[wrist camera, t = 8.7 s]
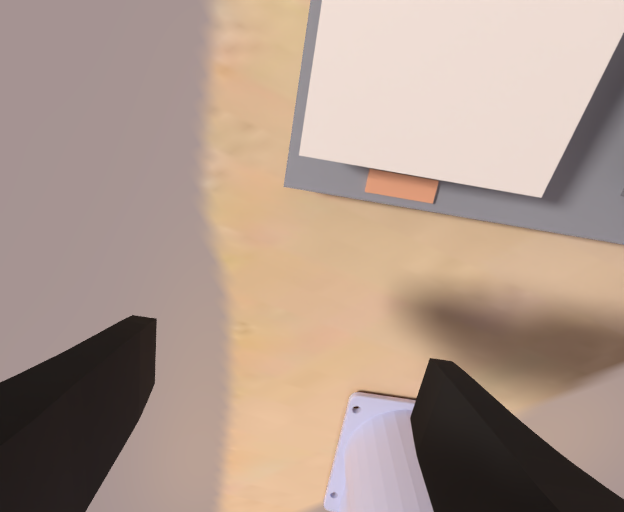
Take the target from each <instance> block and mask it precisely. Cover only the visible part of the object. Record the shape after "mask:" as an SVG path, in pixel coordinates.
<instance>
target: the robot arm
mask: <svg viewBox="0 0 624 512" xmlns="http://www.w3.org/2000/svg"><path fill="white" fill-rule="evenodd" d="M156 321H157V320H156V319H154V318H147V317H141V316H134V315H132V316H130V317H128V318H126V319H124V320H122V321H120V322H118V323H117V324H115V325H113V326H111V327H109V328H107V329H105V330H104V331H102V332H100V333H98V334H96V335H94V336H92V337H91V338H89V339H87V340H85V341H83V342H81V343H80V344H78V345H76V346H74V347H72V348H70V349H68V350H66V351H65V352H63V353H61V354H59V355H57V356H55V357H53V358H51V359H49V360H46V361H44V362H42V363H40V364H38V365H36V366H34V367H32V368H30V369H28V370H26V371H24V372H22V373H20V374H18V375H16V376H14V377H11V378H9V379H7V380H5V381H2V382H0V512H85V511H86V510H87V508H88V506H89V504H90V503H91V501H92V499H93V498H94V496H95V494H96V493H97V491H98V489H99V488H100V486H101V484H102V482H103V481H104V479H105V477H106V476H107V474H108V472H109V470H110V469H111V467H112V466H113V464H114V462H115V460H116V459H117V457H118V455H119V453H120V452H121V450H122V448H123V447H124V445H125V443H126V442H127V440H128V438H129V436H130V435H131V433H132V431H133V429H134V428H135V426H136V424H137V422H138V421H139V418H140V417H141V414H142V412H143V409H144V407H145V405H146V403H147V401H148V398H149V396H150V393H151V391H152V389H153V386H154V384H155V354H156V353H155V352H156ZM355 406H358V407H359V408H357V409H354V408H353V407H355ZM333 492H335V493H333ZM324 508H325V509H326V510H328V511H333V512H624V499H622V498H621V497H619V496H618V495H616V494H615V493H614V492H612V491H610V490H609V489H608V488H606V487H605V486H603V485H602V484H601V483H599V482H598V481H597V480H595V479H594V478H592V477H591V476H590V475H588V474H587V473H586V472H584V471H583V470H581V469H580V468H579V467H577V466H576V465H574V464H573V463H572V462H571V461H569V460H567V458H565V457H564V456H563V455H561V454H560V453H559V452H558V451H556V450H555V449H554V448H552V447H551V446H550V445H549V444H548V443H547V442H545V441H544V440H543V439H542V438H540V437H539V436H538V435H537V434H535V433H534V432H533V431H532V430H531V429H529V428H528V427H527V426H526V425H525V424H524V423H522V422H521V421H520V420H519V419H518V418H517V417H515V416H514V415H513V414H512V413H511V412H510V411H509V410H507V409H506V408H505V407H504V406H503V405H502V404H501V403H500V402H498V401H497V400H496V399H495V398H494V397H493V396H492V395H491V394H489V393H488V392H487V391H486V390H485V389H484V388H483V387H482V386H481V385H479V384H478V383H477V382H476V381H475V380H474V379H473V378H472V377H470V376H469V375H468V374H467V373H466V372H465V371H464V370H462V369H461V368H460V367H459V366H457V365H456V364H455V363H454V362H452V361H446V360H439V359H432V358H430V360H429V363H428V366H427V369H426V372H425V375H424V378H423V381H422V384H421V387H420V390H419V393H418V396H417V399H416V400H410V399H403V398H397V397H390V396H383V395H376V394H369V393H362V392H355V393H353V394H352V395H351V396H350V397H349V401H348V405H347V409H346V413H345V417H344V421H343V425H342V429H341V433H340V437H339V441H338V445H337V449H336V453H335V457H334V461H333V465H332V469H331V473H330V477H329V481H328V485H327V489H326V493H325V497H324Z"/></svg>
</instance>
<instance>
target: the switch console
mask: <svg viewBox="0 0 624 512" xmlns="http://www.w3.org/2000/svg"><path fill="white" fill-rule="evenodd" d="M321 4H322V0H311V2H310V9H309V16H308V22H307V29H306V36H305V43H304V50H303V57H302V64H301V71H300V78H299V85H298V92H297V98H296V105H295V112H294V119H293V126H292V133H291V140H290V147H289V154H288V161H287V168H286V174H285V181H284V187H289V188H294V189H300V190H306V191H312V192H318V193H324V194H330V195H336V196H341V197H347V198H353V199H359V200H365V201H371V202H377V203H383V204H388V205H394V206H400V207H406V208H412V209H418V210H424V211H430V212H435V213H441V214H447V215H453V216H459V217H465V218H471V219H477V220H482V221H488V222H494V223H500V224H506V225H512V226H518V227H524V228H529V229H535V230H541V231H547V232H553V233H559V234H565V235H571V236H576V237H582V238H588V239H594V240H600V241H606V242H612V243H618V244H623V245H624V33H623V35H622V37H621V39H620V41H619V43H618V45H617V47H616V49H615V51H614V53H613V55H612V57H611V59H610V61H609V63H608V65H607V67H606V69H605V71H604V73H603V75H602V77H601V79H600V81H599V83H598V85H597V87H596V89H595V91H594V93H593V95H592V97H591V99H590V101H589V103H588V105H587V107H586V109H585V111H584V113H583V115H582V117H581V119H580V121H579V123H578V125H577V127H576V129H575V131H574V133H573V135H572V137H571V139H570V141H569V143H568V145H567V147H566V149H565V151H564V153H563V155H562V157H561V159H560V161H559V163H558V165H557V167H556V169H555V171H554V173H553V175H552V177H551V179H550V181H549V183H548V185H547V187H546V189H545V191H544V193H543V195H542V197H541V198H540V197H534V196H528V195H522V194H517V193H511V192H505V191H500V190H494V189H488V188H482V187H477V186H471V185H465V184H460V183H454V182H448V181H442V180H437V179H431V178H425V177H419V176H414V175H408V174H402V173H397V172H391V171H385V170H379V169H374V168H368V167H362V166H357V165H351V164H345V163H339V162H334V161H328V160H322V159H316V158H311V157H305V156H299V151H300V144H301V137H302V131H303V124H304V117H305V111H306V104H307V97H308V91H309V84H310V77H311V71H312V64H313V57H314V51H315V44H316V37H317V31H318V24H319V17H320V11H321Z"/></svg>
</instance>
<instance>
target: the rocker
mask: <svg viewBox="0 0 624 512" xmlns="http://www.w3.org/2000/svg"><path fill="white" fill-rule="evenodd" d="M623 33H624V0H322V4H321V11H320V17H319V24H318V31H317V37H316V44H315V51H314V57H313V64H312V71H311V77H310V84H309V91H308V97H307V104H306V111H305V117H304V124H303V131H302V137H301V144H300V151H299V156H305V157H311V158H316V159H322V160H328V161H334V162H339V163H345V164H351V165H357V166H362V167H368V168H374V169H379V170H385V171H391V172H397V173H402V174H408V175H414V176H419V177H425V178H431V179H437V180H442V181H448V182H454V183H460V184H465V185H471V186H477V187H482V188H488V189H494V190H500V191H505V192H511V193H517V194H522V195H528V196H534V197H540V198H541V197H542V195H543V193H544V191H545V189H546V187H547V185H548V183H549V181H550V179H551V177H552V175H553V173H554V171H555V169H556V167H557V165H558V163H559V161H560V159H561V157H562V155H563V153H564V151H565V149H566V147H567V145H568V143H569V141H570V139H571V137H572V135H573V133H574V131H575V129H576V127H577V125H578V123H579V121H580V119H581V117H582V115H583V113H584V111H585V109H586V107H587V105H588V103H589V101H590V99H591V97H592V95H593V93H594V91H595V89H596V87H597V85H598V83H599V81H600V79H601V77H602V75H603V73H604V71H605V69H606V67H607V65H608V63H609V61H610V59H611V57H612V55H613V53H614V51H615V49H616V47H617V45H618V43H619V41H620V39H621V37H622V35H623Z"/></svg>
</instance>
